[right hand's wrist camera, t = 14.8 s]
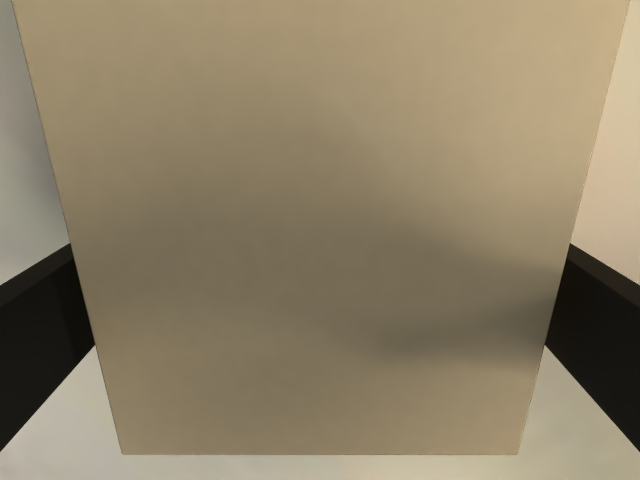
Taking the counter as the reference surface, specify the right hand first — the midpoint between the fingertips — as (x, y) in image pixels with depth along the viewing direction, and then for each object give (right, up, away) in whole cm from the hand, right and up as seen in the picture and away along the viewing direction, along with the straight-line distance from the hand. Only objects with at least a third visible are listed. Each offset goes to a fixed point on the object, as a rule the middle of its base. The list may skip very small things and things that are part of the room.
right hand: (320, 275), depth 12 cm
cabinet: (0, +8, +3) cm, 9 cm away
